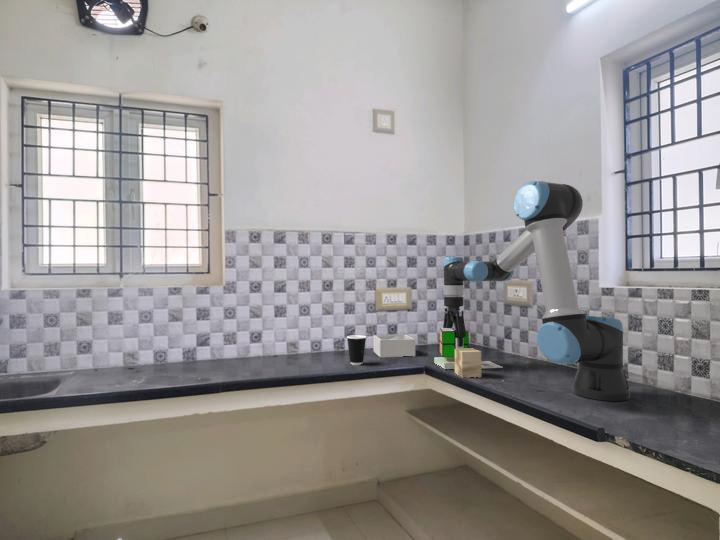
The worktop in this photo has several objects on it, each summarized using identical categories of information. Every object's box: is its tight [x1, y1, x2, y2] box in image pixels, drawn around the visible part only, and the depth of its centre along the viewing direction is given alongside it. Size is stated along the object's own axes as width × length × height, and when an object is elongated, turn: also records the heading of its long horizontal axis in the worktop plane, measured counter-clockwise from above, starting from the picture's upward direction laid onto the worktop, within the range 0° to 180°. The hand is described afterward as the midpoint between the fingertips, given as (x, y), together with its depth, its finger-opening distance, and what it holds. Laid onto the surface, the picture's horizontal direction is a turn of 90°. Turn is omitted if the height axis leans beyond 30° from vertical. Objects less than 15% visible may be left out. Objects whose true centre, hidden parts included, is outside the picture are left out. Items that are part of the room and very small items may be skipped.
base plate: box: [433, 356, 455, 370], centre depth 172 cm, size 12×12×2 cm
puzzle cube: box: [439, 327, 470, 357], centre depth 172 cm, size 10×10×10 cm
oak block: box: [454, 347, 482, 379], centre depth 156 cm, size 7×7×9 cm
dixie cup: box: [346, 334, 367, 366], centre depth 176 cm, size 8×8×11 cm
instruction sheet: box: [481, 360, 504, 369], centre depth 174 cm, size 12×9×1 cm
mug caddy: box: [373, 334, 416, 358], centre depth 199 cm, size 16×16×8 cm
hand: (453, 352), depth 172 cm, fingers closed on puzzle cube, 11 cm apart
